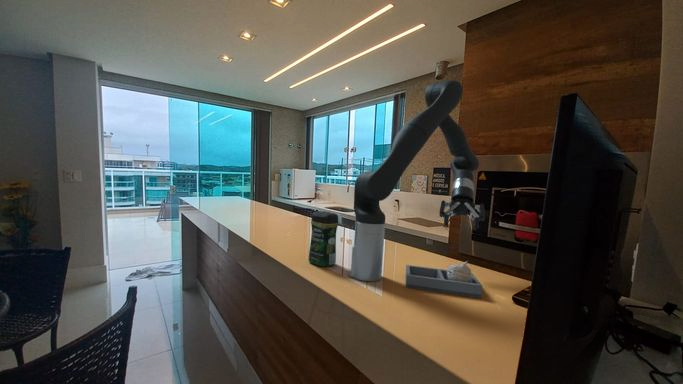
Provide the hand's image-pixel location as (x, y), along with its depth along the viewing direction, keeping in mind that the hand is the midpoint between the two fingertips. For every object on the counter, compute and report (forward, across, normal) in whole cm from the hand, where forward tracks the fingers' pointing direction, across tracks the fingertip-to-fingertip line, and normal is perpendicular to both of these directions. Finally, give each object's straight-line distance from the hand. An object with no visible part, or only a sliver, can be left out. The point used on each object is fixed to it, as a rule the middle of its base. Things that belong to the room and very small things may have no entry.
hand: (460, 227), depth 88 cm
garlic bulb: (+19, 0, +4) cm, 19 cm away
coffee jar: (+21, -44, +3) cm, 49 cm away
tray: (+20, -5, +3) cm, 21 cm away
